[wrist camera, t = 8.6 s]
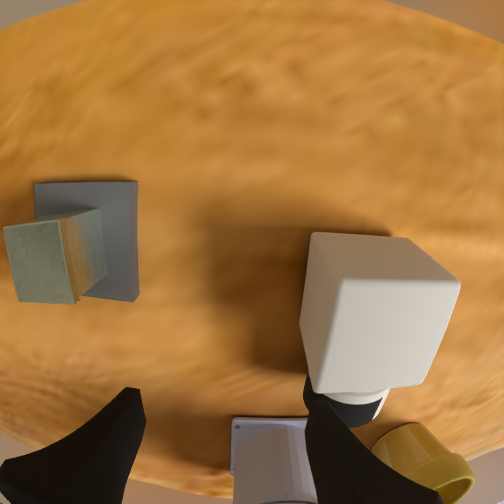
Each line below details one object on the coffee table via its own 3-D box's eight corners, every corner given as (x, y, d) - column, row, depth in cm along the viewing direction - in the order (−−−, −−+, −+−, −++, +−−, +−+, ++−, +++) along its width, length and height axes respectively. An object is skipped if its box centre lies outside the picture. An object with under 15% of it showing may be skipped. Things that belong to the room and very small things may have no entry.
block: (142, 291, 22) (133, 302, 20) (55, 280, 22) (42, 289, 20) (140, 180, 20) (130, 182, 18) (49, 182, 20) (34, 184, 18)
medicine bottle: (310, 229, 20) (290, 373, 24) (337, 280, 13) (298, 443, 17) (408, 236, 20) (371, 370, 24) (465, 282, 13) (396, 433, 17)
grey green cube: (110, 274, 20) (74, 304, 15) (58, 275, 20) (18, 301, 15) (100, 206, 18) (59, 219, 14) (48, 213, 18) (3, 227, 14)
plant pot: (394, 474, 28) (416, 531, 19) (334, 463, 27) (352, 535, 17) (454, 419, 26) (491, 475, 16) (402, 400, 24) (443, 474, 15)
